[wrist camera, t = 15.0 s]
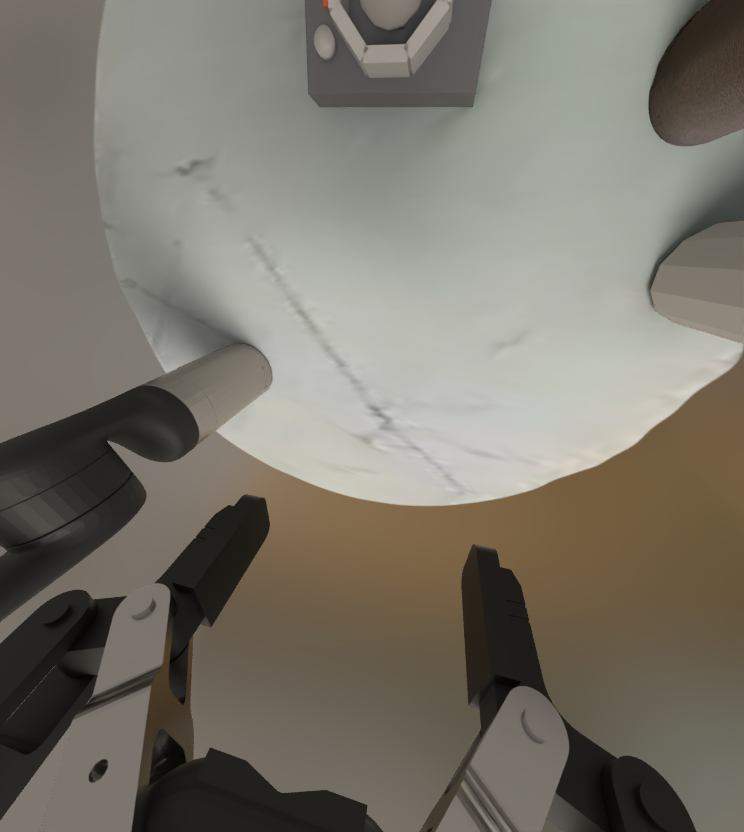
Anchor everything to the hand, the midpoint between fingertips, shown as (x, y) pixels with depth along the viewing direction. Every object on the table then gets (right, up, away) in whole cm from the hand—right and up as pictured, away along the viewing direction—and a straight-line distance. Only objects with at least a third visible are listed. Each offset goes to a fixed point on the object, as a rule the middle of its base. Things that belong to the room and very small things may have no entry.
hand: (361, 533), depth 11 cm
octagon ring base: (+3, +42, +16) cm, 45 cm away
